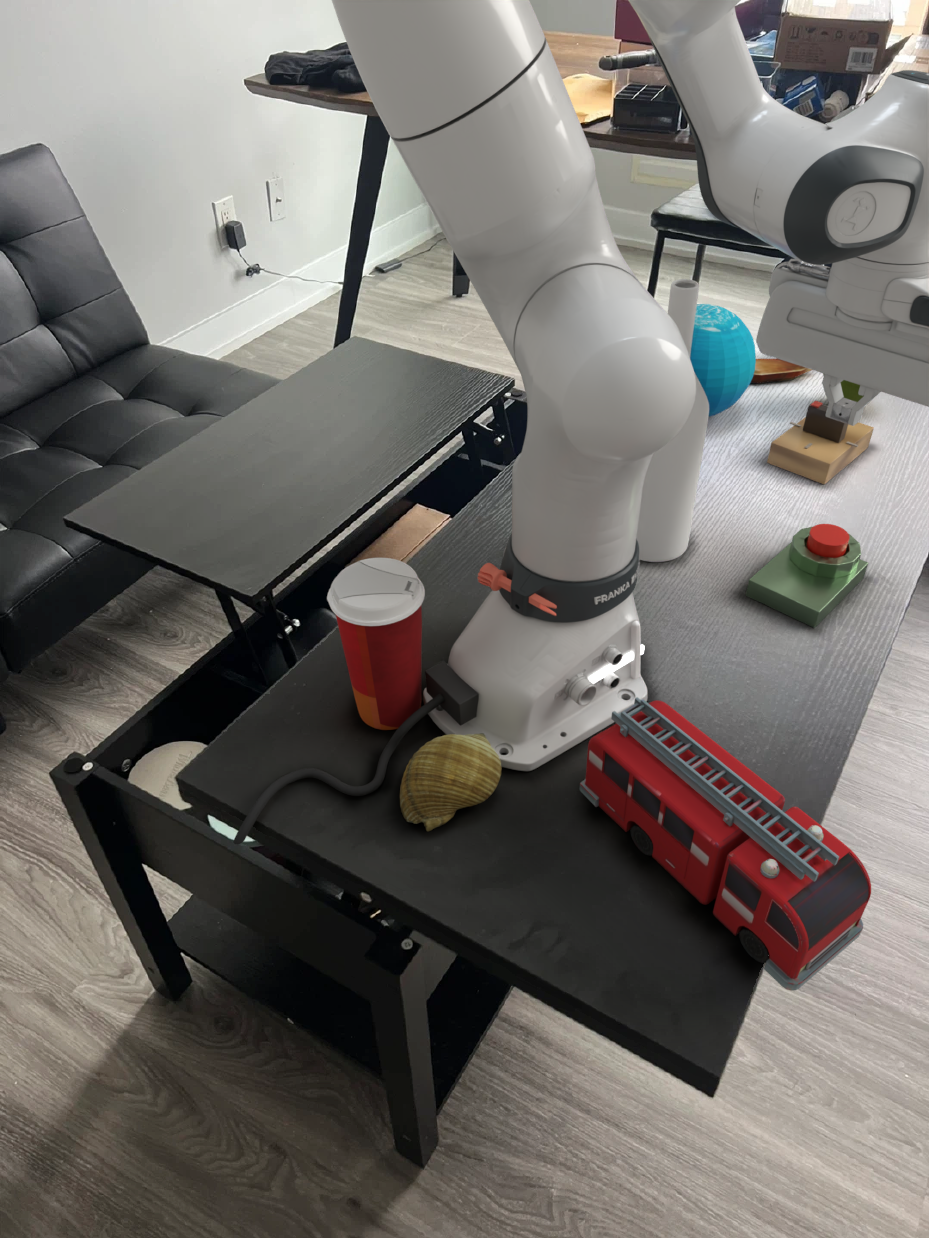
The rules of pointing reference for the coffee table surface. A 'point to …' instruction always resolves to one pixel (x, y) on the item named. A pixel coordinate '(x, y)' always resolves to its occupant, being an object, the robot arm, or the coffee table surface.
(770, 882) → the toy
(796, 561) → the green lamp base
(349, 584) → the coffee cup
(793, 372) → the wooden boat shaped bowl
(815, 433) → the knob
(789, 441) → the panel
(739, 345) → the decorative orb
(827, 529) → the lamp button
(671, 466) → the bottle
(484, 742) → the seashell
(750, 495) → the coffee table surface
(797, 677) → the coffee table surface
